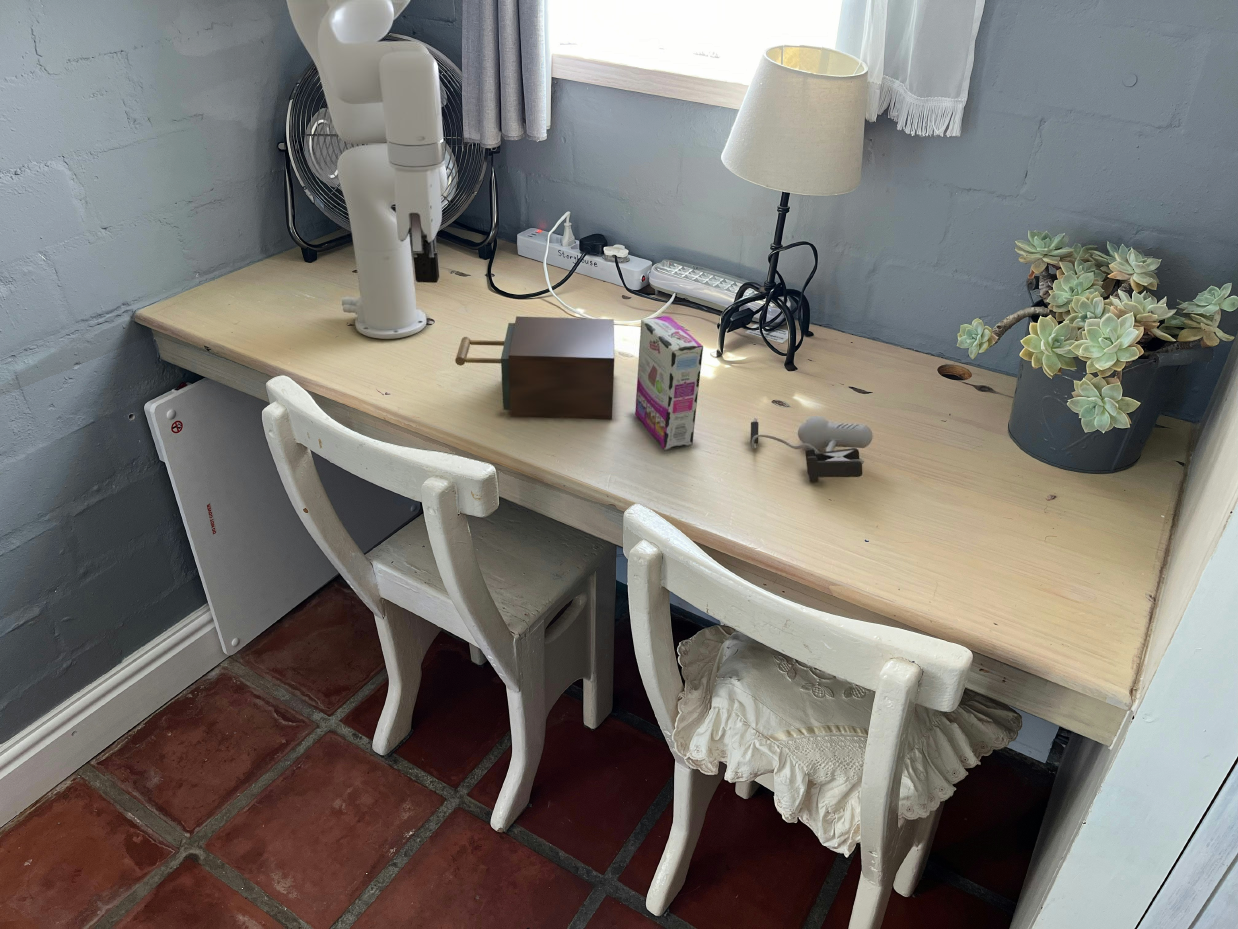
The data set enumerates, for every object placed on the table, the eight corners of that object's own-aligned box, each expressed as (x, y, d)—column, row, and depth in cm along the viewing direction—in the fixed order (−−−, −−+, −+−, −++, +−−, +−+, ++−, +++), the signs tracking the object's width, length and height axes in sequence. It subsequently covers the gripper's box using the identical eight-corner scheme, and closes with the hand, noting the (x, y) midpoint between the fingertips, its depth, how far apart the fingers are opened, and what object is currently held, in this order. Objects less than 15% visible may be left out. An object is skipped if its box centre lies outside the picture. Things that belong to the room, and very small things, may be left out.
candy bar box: (694, 445, 130) (705, 345, 120) (664, 451, 128) (672, 351, 119) (662, 409, 138) (669, 313, 129) (633, 414, 136) (639, 317, 127)
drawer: (455, 408, 134) (451, 357, 129) (466, 370, 144) (462, 321, 139) (597, 412, 135) (598, 361, 130) (597, 373, 145) (599, 325, 140)
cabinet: (510, 417, 134) (508, 355, 128) (517, 374, 145) (516, 316, 139) (612, 419, 135) (614, 358, 129) (611, 377, 146) (613, 319, 140)
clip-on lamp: (736, 478, 128) (861, 489, 120) (731, 443, 124) (859, 451, 116) (759, 434, 136) (878, 441, 128) (755, 399, 133) (876, 404, 125)
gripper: (399, 137, 124) (411, 260, 135) (376, 167, 112) (391, 300, 122) (452, 139, 125) (460, 262, 135) (435, 169, 112) (445, 301, 123)
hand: (427, 280), depth 129 cm, fingers closed
